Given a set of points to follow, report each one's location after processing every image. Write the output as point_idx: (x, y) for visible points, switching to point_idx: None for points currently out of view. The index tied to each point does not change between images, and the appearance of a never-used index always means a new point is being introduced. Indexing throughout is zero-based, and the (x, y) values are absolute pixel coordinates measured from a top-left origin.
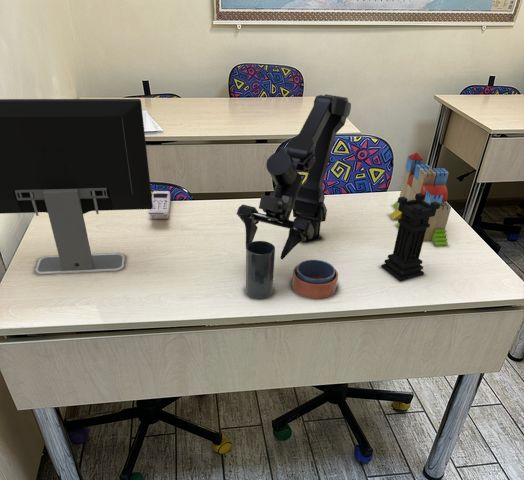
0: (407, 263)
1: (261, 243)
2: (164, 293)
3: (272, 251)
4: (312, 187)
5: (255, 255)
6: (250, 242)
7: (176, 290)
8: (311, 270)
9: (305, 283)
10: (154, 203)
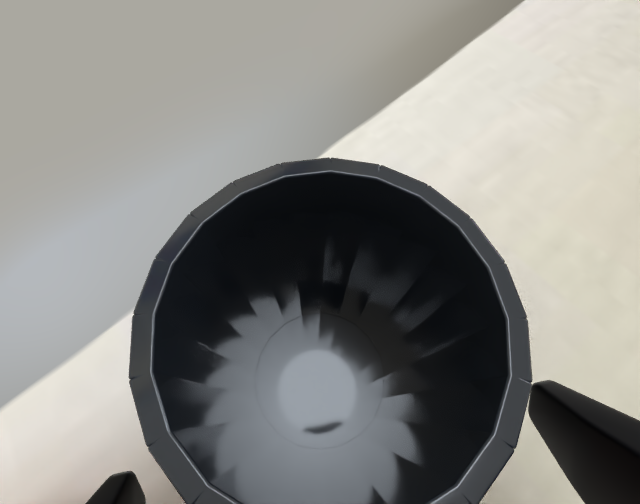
0: None
1: (434, 484)
2: (581, 134)
3: (141, 336)
4: None
5: (285, 171)
6: (608, 487)
7: (573, 168)
8: None
9: None
10: None
